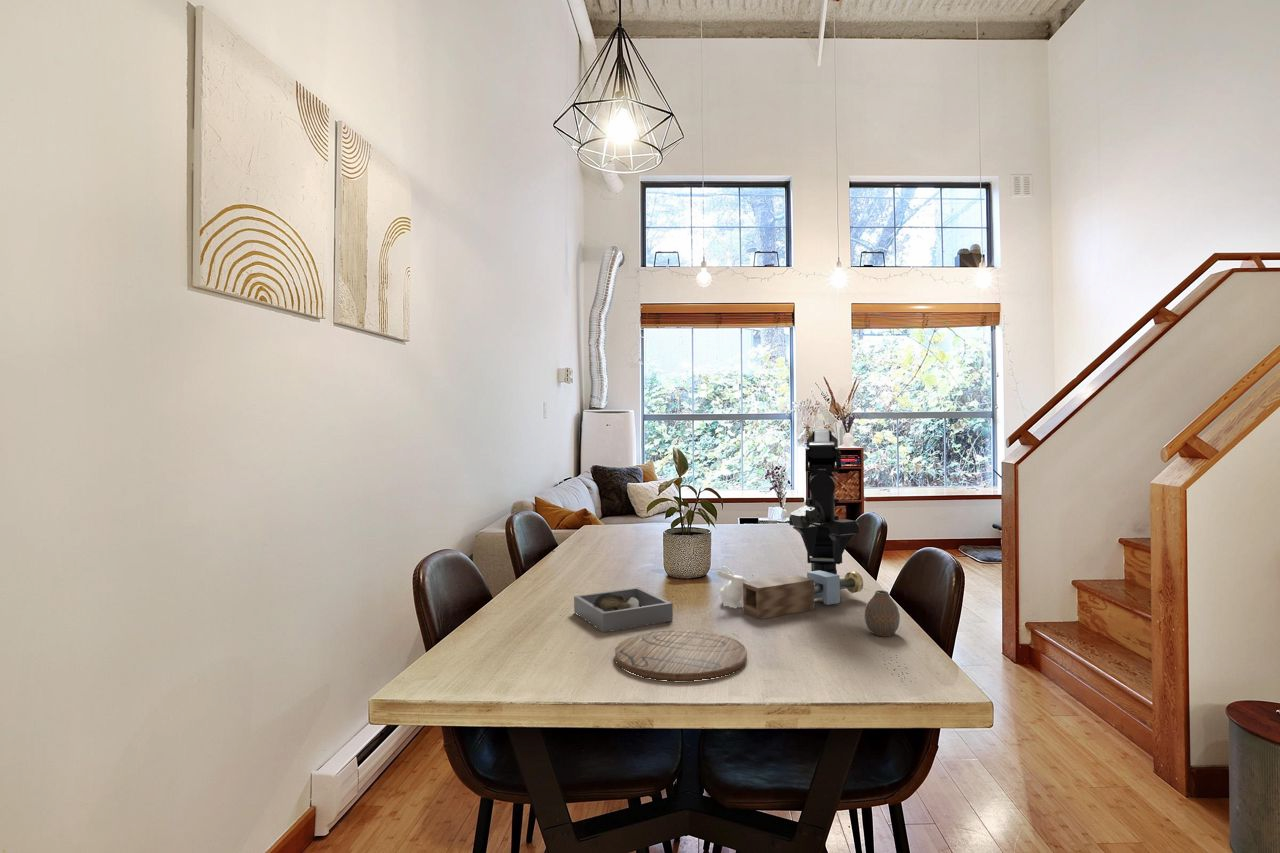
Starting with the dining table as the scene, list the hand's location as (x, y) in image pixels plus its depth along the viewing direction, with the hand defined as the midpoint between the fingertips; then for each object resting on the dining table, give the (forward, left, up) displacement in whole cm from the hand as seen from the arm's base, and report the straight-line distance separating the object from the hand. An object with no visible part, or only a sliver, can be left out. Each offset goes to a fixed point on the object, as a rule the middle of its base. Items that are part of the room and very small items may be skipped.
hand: (823, 558), depth 169 cm
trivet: (+16, -49, -12) cm, 53 cm away
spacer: (0, 0, -10) cm, 10 cm away
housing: (0, -13, -11) cm, 17 cm away
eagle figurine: (-12, -50, -11) cm, 53 cm away
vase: (+24, -5, -11) cm, 27 cm away
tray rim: (-14, -47, -11) cm, 51 cm away
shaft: (0, 0, -9) cm, 9 cm away
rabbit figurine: (-10, -20, -11) cm, 25 cm away
